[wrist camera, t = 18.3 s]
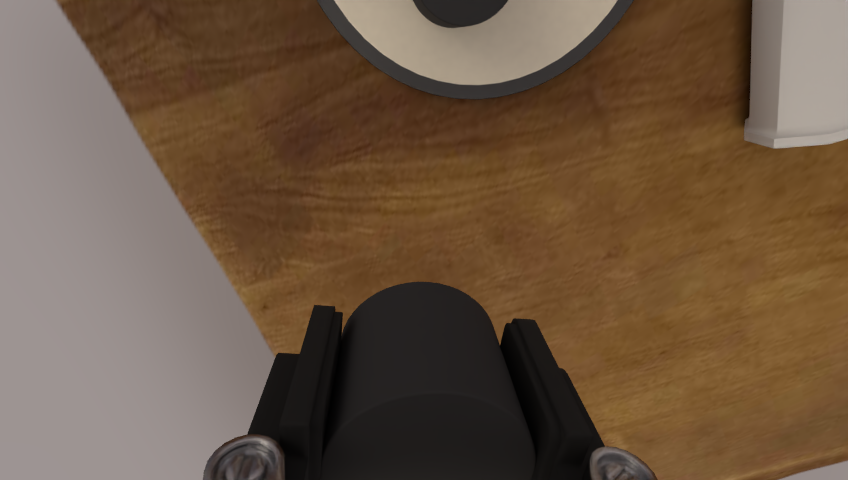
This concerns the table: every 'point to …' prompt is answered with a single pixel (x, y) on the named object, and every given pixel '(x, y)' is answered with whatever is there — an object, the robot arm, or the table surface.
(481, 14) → the eye dot
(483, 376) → the eye dot
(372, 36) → the face circle
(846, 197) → the table surface
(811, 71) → the tube
